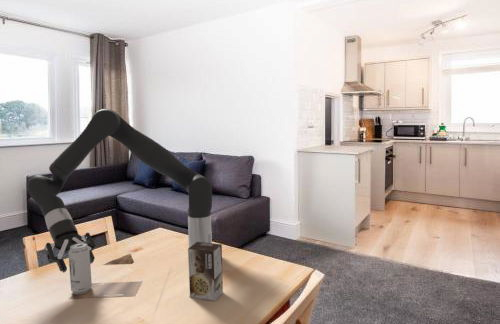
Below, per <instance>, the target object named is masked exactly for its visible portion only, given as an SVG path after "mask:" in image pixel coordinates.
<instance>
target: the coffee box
mask: <svg viewBox="0 0 500 324" xmlns="http://www.w3.org/2000/svg"><path fill="white" fill-rule="evenodd" d="M222 253H223V247H222V244H221V243H213V242H212V243H204V242H196V243H195V244H193V245H192V246H191V247H190V248H189V247H188V248H187V257H188V279H189V280H188V281H189V283H188V284H189V297H190V298H194V299H200V300H207V301H213V302H216V301H217V300H218V299H219V298H220V296H221V295H222V294H223V293H224V290H223V289H224V288H223V287H224V286H223V254H222Z"/></svg>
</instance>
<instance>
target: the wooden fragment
mask: <svg viewBox="0 0 500 324" xmlns="http://www.w3.org/2000/svg"><path fill="white" fill-rule="evenodd" d="M132 263H134V259H133V257H132V254H131V253H127V254H126V255H123V256H121V257H118V258H116V259H113V260H110V261H108V262H106V263H104V264H102V266H112V265H114V266H115V265H131V264H132Z"/></svg>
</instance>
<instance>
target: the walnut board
mask: <svg viewBox="0 0 500 324" xmlns="http://www.w3.org/2000/svg"><path fill="white" fill-rule="evenodd" d="M142 283H143V280H141V281H138V280H137V281H117V282H112V281H111V282H95V283H94V282H92V287H91V288H90V290H89V291H88V292H86V293H84V294H74V293H73V292H72V294H71V296H70V297H68V300H83V299H85V300H86V299H103V298H105V299H106V298H125V297H136V295H137V294H138V291H139V290H140V287H141V286H142Z"/></svg>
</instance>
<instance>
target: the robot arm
mask: <svg viewBox="0 0 500 324" xmlns="http://www.w3.org/2000/svg"><path fill="white" fill-rule="evenodd" d="M108 137H111V138H113V139H114V140H116V141H117V142H119V143H120V144H122V145H123V146H124V147H126V149H128V151H129V152H131V153H132V155H134V156H135V157H136V158H137V159H138V160H140V162H142V163H143V164H144V165H146V166H147V167H149V168H150V169H152V170H154V171H155V172H157V173H158V174H161V175H163V176H165V177H167V178H169V179H171V180H173V181H174V182H175V183H177V184H178V185H180V186H181V188H183V189H184V190H185V191H186V192H187V193H188V208H187V227H188V228H187V229H188V248H190V247H191V246H192V245H193V244H195V243H196V242H204V243H213V241H212V239H213V238H212V237H213V236H212V234H213V233H212V208H213V188H212V183H211V181H210V180H209V179H208V178H206V176H203V175H202V174H200V173H198V172H197V171H194V170H193V169H192V168H191V169H190V168H189V167H187V166H186V165H185V164H183V163H182V162H181V161H180V160H179V159H178V158H177V157H176V156H175V155H174V154H173V153H172V152H170V151H169V150H168V149H167V148H166V147H164V146H162V145H161V144H160V143H158V142H157V141H155V140H154V139H152V138H151V137H149V136H148V135H146V134H144V133H142V132H140V130H137V129H135V127H133V126H132V125H130V123H128V122H127V121H126V120H125V119H123V118H122V117H121V115H119V113H117V112H116V111H114V110H113V109H109V108H102V109H98V110H97V111H96V112H95V113H94V114H93V115H92V117H91V119H90V121H89V122H88V124H87V125H86V127H85V128H84V130H83V131H82V132H81V133H80V134H79V136H78V137H77V138H76V139H75V140H74V141H73V142H72V143H71V144H70V145H69V146H67V147H66V148H65V149H64V151H62V152H61V153H59V155H58V156H57V157H56V158H55V160H54V161H53V162H51V163H50V165H49V167H48V169H49V171H50V173H51V174H52V175H51V176H50V177H47V176H44V175H40V174H39V175H38V174H37V175H33V176H31V177H30V178H29V180H28V181H27V183H26V188H27V192H28V194H29V196H30V198H31V199H32V201H34V203H35V204H36V205H37V206H38V208H39V209H40V211H41V213H42V215H43V217H44V220H45V224H46V228H47V230H48V232H49V234H50V237H51V239H52V241H53V242H52V243H51V242H46V244H45V246H44V251H45V254H46V258H47V262H48V263H49V264H53V263H56V265H57V267H58V269H59V271H60V272H62V273H66V272H67V270H68V267H67V265H66V263H65V260H64V258H63V255H64V254H68V252H69V250H70V246H72V245H74V244H78V243H86V244H87V247H88V248H89V251H90V265H91V264H93V263H94V261H95V255H94V253H93V251H94V250H95V248H96V246H97V245H96V243H95V241H94V239H93V237H92V236H91V233H89V232H86V233H85V234H82V235H81V234H79V232H78V229H77V227H76V225H75V223H74V220H73V217H72V216H71V214H70V213H69V211H68V209H67V207H66V204H65V203H64V201H63V199H62V198H61V197H60V196H58V194H60V192H61V191H62V190H63V188H64V187H65V186H64V185H65V184H66V182H67V180H68V178H69V177H70V176H71V174H73V173H74V171H75V170H77V168H78V167H79V166H80V165H81V164H82V162H83V161H84V160H85V159H86V158H87V157H88V155H89V154H90V153H91V152H92V151H93V150H94V149H95V147H97V146H98V145H99V144H100V143H101V142H103V140H105V139H106V138H108ZM82 240H83V241H82ZM54 248H55V249H57V250H59V251H58V254H57V256H56V255H55V253H54Z"/></svg>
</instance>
